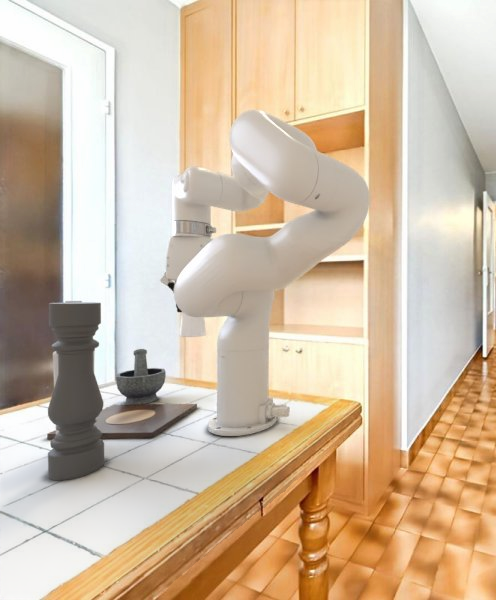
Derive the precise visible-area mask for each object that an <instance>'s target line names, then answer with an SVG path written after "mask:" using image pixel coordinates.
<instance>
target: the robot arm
mask: <svg viewBox="0 0 496 600" xmlns="http://www.w3.org/2000/svg"><path fill="white" fill-rule="evenodd" d="M228 139H229V146H230V147H229V148H230V150H231V152H232V156H231V159H230V168H231V174H232V175H230V174H229V175H228V174H226V173H223V172H219V171H216V170H212V169H209V168H205V167H202V166H197V165H194V166H193V165H192V166H190V167H188V168H186V169H185V170H184V171H183V173H182V174H176V175H174V177H173V179H172V183H171V188H172V189H171V191H172V192H171V195H172V196H171V199H172V200H171V203H172V204H171V205H172V206H171V207H172V214H171V215H172V218H171V219H172V220H171V221H172V236H170V237H169V239H168V243H167V248H166V256H165V271H164V273H163V275H162V276H161V278H160V279H159V281H160V283H162V284H164V285H165V286H167V287H168V288H169V289H170V291H172V293H173V297H174V302H175V307H176V312H177V313H182V312H183V313H185V314H187V315H189V316H192V317H204V318H219V317H222V318H223V317H227V318H226V319H225V321H224V322H223V325H222V326H221V327H220V330H219V331H218V335H217V339H216V340H217V341H216V415H215V416H214V417H212V418H211V419H210V420H209V421H208V422H207V430H208V431H209V433H211V434H213V435H216V436H221V437H239V436H246V435H252V434H256V433H259V432H261V431H265V430H267V429H269V428H270V427H272V426H274V424H276V422H277V417H279V418H288V417H289V416H290V408H291V407H290V406H287V404H286V403H280V404H276V403H275V402H274V397H271V396H269V395H270V394H269V391H270V390H269V387H270V385H269V384H270V381H269V380H270V373H269V372H270V369H269V368H270V325H271V324H270V323H271V315H272V310H273V305H274V301H275V291H281V290H284V289H286V288H287V287H289V286H290V285H291V284H293V283H295V282H296V281H297V280H298V279H300V278H301V277H303V276H304V275H305V274H306V273H308V272H309V271H311V270H312V269H314V268H315V267H316V266H317V265H318V264H319V263H321V262H322V261H324V260H325V259H326V258H328V257H329V256H331V255H332V254H334V253H336V252H338V250H340V249H341V248H343V247H344V246H345V245H346V244H348V243H349V242H350V241H351V240H352V239H354V237H355V236H356V235H357V234H358V233H359V231H360V230H361V229H362V227H363V225H364V224H365V221H366V219H367V216H368V213H369V207H370V190H369V189H370V188H369V187H368V184H367V182H366V180H365V179H364V177H363V176H362V175H361V174H360V173H359V172H358V171H356V170H355V169H354V168H352V167H351V166H349V165H348V164H346V163H344V162H342V161H340V160H338V159H336V158H335V157H332V156H329V155H327V154H325V153H323V152H321V151H318V149H317V146H316V145H315V142H314V140H312V138H311V137H310V136H309V135H308V134H307V133H305V132H304V131H302V130H301V129H299V128H297V127H295V126H294V125H292V124H290V123H288V122H286V121H284V120H282V119H280V118H278V117H276V116H274V115H273V114H271V113H268V112H266V111H264V110H261V109H250V110H246V111H243V112H242V113H241V114H239V115H238V116H237V117H236V118H235V120H234V121H233V122H232V125H231V127H230V131H229V138H228ZM269 193H270V194H272V195H273V196H274V197H276V198H278V199H280V200H282V201H284V202H287V203H290V204H294V205H298V206H302V207H305V208H308V209H312V211H310V212H308V213H304V214H302V215H299V216H296V217H294V218H293V219H291V220H289V221H288V222H286V223H285V224H284V225H283V226H281V228H280V229H278V231H276V232H275V233H274V234H272V235H270V236H254V235H248V234H241V233H226V234H222V235H218V236H216V237H214V238H212V236H213V235H212V234H216V233H217V228H216V227H215V226H212V216H211V215H212V213H211V212H212V211H211V209H212V208H218V209H222V210H227V211H231V212H247V211H249V210H253V209H256V208H258V207H259V208H260V207H261V206H262V205H263V204H264V203H265V201H266V200H267V198H268V196H269Z"/></svg>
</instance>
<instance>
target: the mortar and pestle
mask: <svg viewBox="0 0 496 600" xmlns="http://www.w3.org/2000/svg"><path fill="white" fill-rule="evenodd" d="M147 354H148V350H147V349H145V348H137V349H134V351H133V356H134V364H133V369H131V370H125V371H122V372H119V373H116V375H115V384H116V388H117V390H118V391H119V393H120V394H121V395H123V396H124V397H125V404H151V403H153V402H155V401H157V400H158V396H157V393H158V392H159V391H160V390H161V389H162V388H163V386H164V384H165V381H166V377H167V375H166V370H165V368H158V367H148V361H147V360H148V359H147Z"/></svg>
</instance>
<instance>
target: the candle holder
mask: <svg viewBox="0 0 496 600" xmlns="http://www.w3.org/2000/svg"><path fill="white" fill-rule="evenodd" d="M101 324H102V304H101V302H93V301H90V302H87V301H85V302H84V301H82V302H68V303H65V302H49V303H48V326H49V327H51V332H52V333H53V334H54V335H55V337H56V338H57V341H56V342H54V343H53V344H51V350H52V351H53V352H55V351H56V353H57V354H58V377H57V380H56V384H55V387H54V386H53V391H52V394H51V398H50V401H49V405H48V408H47V416H48V418H49V420H50V421H51V423H52V424H53V425H55V430H56V429H57V430H58V431H59V432H58V433H57V434H56V435H55V437H54V439H50V444H49V445H50V448H52V449H51V450H49V451H48V452H47V473H48V474H47V475H48V477H47V478H48V479H49V480H51V481H66V480H67V481H68V480H73V479H77V478H81V477H85V476H86V475H90V474H91V473H94V472H96V471H97V470H99V469H101V468H102V467H103V466H104V464H105V441H104V439H102V438H100V437H101V436H102V433H101V431H100V430H99V429H98V428H97V427H96V426H94V424H95V423H96V419H95V418H96V417H97V416H98V415H99V414H100V413H101V411H102V410H103V409H104V399H103V396H102V393H101V390H100V387H99V383H98V381H97V377H96V375H95V370H94V371H93V351H96V349H97V348H98V347H99V346H100V342H99V341H98V340H96V339H94V336H95V335H96V332H97V331H98V330H99V325H101ZM56 425H57V426H56Z"/></svg>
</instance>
